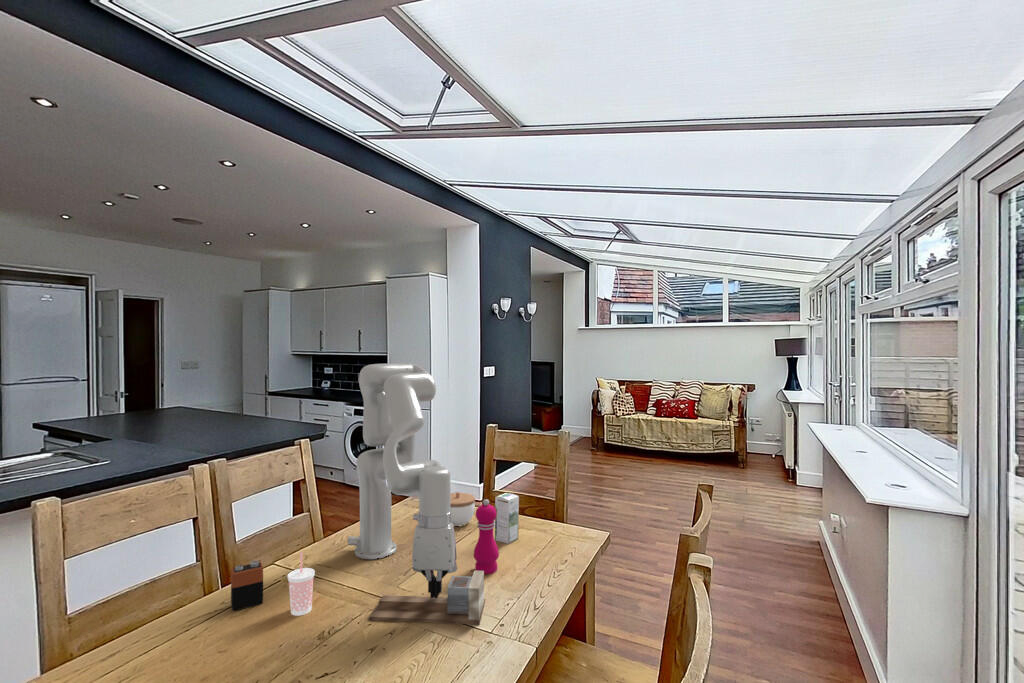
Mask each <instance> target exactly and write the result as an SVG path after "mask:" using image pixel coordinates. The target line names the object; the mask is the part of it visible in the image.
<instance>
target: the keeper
mask: <svg viewBox="0 0 1024 683" xmlns="http://www.w3.org/2000/svg"><path fill="white" fill-rule="evenodd" d="M472 576H473V575H472ZM472 576H471V575H469V576H467V575H466V576H465V575H463V576H462V575H452V576H451V578H450V581H449V582H448V585H447V588H446V589H447V590H446V591H447V594H446V595H447V596H446V597H447V614H469V585H470V582H471V579H472Z"/></svg>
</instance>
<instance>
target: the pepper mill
mask: <svg viewBox="0 0 1024 683" xmlns="http://www.w3.org/2000/svg"><path fill="white" fill-rule="evenodd" d="M496 516H497V512H496V509H495V505H494V506H493V505H492V504H490V501H489V499H483V501H482V504H481V505H480V506H477V508H476V512H475V518H476V521H477V529H478V531H479V532H478V540H477V541H476V542H477V543H476V544H475V547H474V550H473V558H474V560H475V561H476V562H475V563H474V564H475V567H474V568H475V570H474V571H484V575H491V574H494V573H495V572H497V571H498V562H497V560H498V559H499V557H500V556H499V555H500V552H499V547H498V545H497V542H496V540H495V535H494V529H495V518H496Z"/></svg>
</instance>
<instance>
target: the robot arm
mask: <svg viewBox="0 0 1024 683" xmlns="http://www.w3.org/2000/svg"><path fill="white" fill-rule="evenodd" d="M358 384H359V389H360V393H361V395H362V400H363V413H362V414H363V419H362V420H363V421H362V438H363V442H364V444H365V445H366V446H368V447H383V448H376V449H374V448H373V449H369V450H365V451H363V452H362V453H360V454H359V455H358V457H357V460H356V472H357V477H358V485H359V535H358V536H348V537H347V539H346V540H347V545H348V546H355V548H354V555H355V556H356V557H357V558H360V559H362V560H378V559H377V558H379V559H383V558H386V557H385V556H387V557H389V556H391V555H392V553H393V554H395V553H396V551H397V546H398V545H397V544H396V543H395V542H394V541H392V494H394V495H396V496H403V495H405V496H406V495H410V494H414V493H418V513H414V514H413V517H412V519H413V520H414V521H417V524H416V525H415V528H414V534H413V542H412V553H411V554H412V558H411V559H412V560H411V562H412V563H411V565H412V571H414V572H417V573H421V574H422V576H424V578H426V581H427V584H428V585H427V588H428V590H427V592H428V593H430V596H429V597H430V598H437V597H439V594H441V593H442V591H443V578H444V577H446V575H447V574H452V573H456V572H457V569H458V566H457V565H458V564H457V541H456V539H457V538H456V533H455V527H454V526H453V523H451V522H450V494H451V472H450V470H449V468H447V467H445V466H442V465H441V463H440V462H439V461H438V460H436V459H425V460H418V461H414V460H415V459H414V458H415V457H414V456H415V442H416V441H415V440H416V433H417V432H419V431H420V430H421V429H422V428H423V427H424V426H425V418H424V415H423V410H422V407H421V403H424V402H425V403H426V402H431V401H433V399H434V398H435V396H436V395H437V394H436V392H437V388H436V387H437V386H436V382H435V379H434V378H433V376H432V374H430V373H429V372H428V371H427V370H426V369H424V368H422V367H421V366H420V365H419V364H415V363H411V362H409V363H408V362H406V363H405V362H398V363H397V362H396V363H373V364H368V365H365V366H363V367H362V368H361V370H360V372H359V376H358ZM384 481H386V483H387V485H386V484H385V483H384ZM388 555H389V556H388ZM435 571H436V575H435V573H434V572H435Z"/></svg>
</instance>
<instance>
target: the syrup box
mask: <svg viewBox="0 0 1024 683" xmlns="http://www.w3.org/2000/svg"><path fill="white" fill-rule="evenodd" d="M494 501H495V502H494V508H495V509H496V512H497V516H496V518H495V520H494V522H495V527H494V539H495V542H496V541H497V542H501V543H504V544H511V543H513V542H514V541H516V540H518V539H519V524H520V520H519V518H520V515H519V512H520V510H519V507H520V503H519V502H520V496H519V495H518V494H517V495H516V494H514V493H509V492H505V493H502V494H499V495H497V496H495V499H494Z"/></svg>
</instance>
